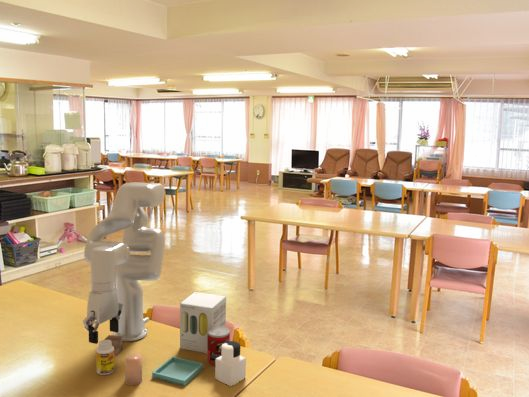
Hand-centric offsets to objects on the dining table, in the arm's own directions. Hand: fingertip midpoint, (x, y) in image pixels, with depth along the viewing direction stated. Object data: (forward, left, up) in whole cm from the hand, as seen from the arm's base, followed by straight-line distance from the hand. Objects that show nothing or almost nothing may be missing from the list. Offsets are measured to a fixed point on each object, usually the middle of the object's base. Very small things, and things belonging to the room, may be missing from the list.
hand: (104, 337), depth 152 cm
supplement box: (-32, +19, -13) cm, 39 cm away
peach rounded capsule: (0, +12, -12) cm, 17 cm away
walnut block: (-13, -7, -12) cm, 19 cm away
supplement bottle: (-1, 0, -13) cm, 13 cm away
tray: (-10, +22, -12) cm, 27 cm away
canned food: (-23, +30, -13) cm, 39 cm away
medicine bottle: (-14, +39, -13) cm, 43 cm away
